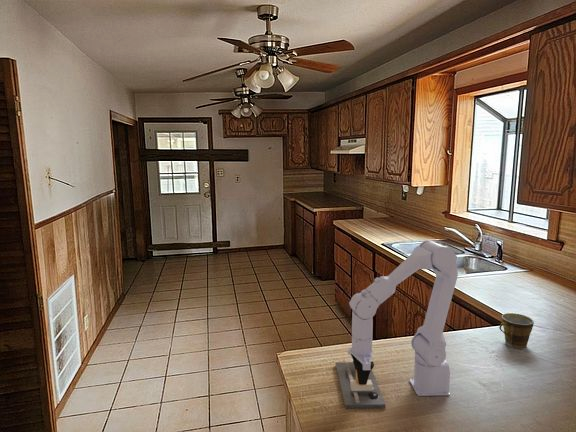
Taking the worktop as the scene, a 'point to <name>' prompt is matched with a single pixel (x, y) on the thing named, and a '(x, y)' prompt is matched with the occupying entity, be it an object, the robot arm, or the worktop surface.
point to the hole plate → (357, 397)
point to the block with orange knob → (357, 387)
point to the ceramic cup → (516, 329)
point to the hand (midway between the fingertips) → (361, 380)
